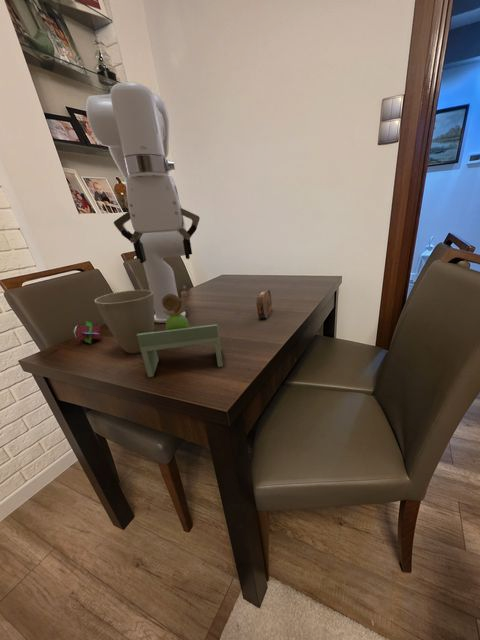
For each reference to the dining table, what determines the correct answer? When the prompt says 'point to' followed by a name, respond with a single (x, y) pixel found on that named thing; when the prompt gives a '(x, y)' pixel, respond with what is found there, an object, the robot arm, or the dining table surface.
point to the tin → (264, 304)
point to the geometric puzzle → (87, 332)
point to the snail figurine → (175, 310)
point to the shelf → (176, 343)
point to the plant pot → (128, 316)
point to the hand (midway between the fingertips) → (166, 260)
